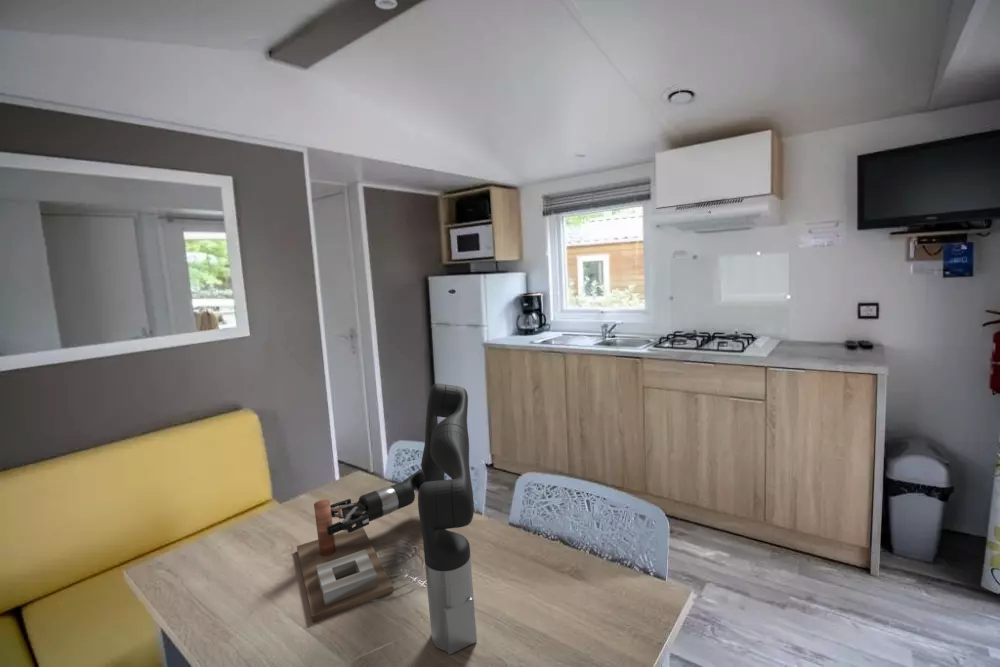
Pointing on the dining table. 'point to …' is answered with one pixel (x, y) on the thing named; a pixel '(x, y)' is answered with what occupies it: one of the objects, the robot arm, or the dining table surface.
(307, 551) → the socket board
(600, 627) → the dining table surface
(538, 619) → the dining table surface
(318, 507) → the pin
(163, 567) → the dining table surface
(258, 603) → the dining table surface
